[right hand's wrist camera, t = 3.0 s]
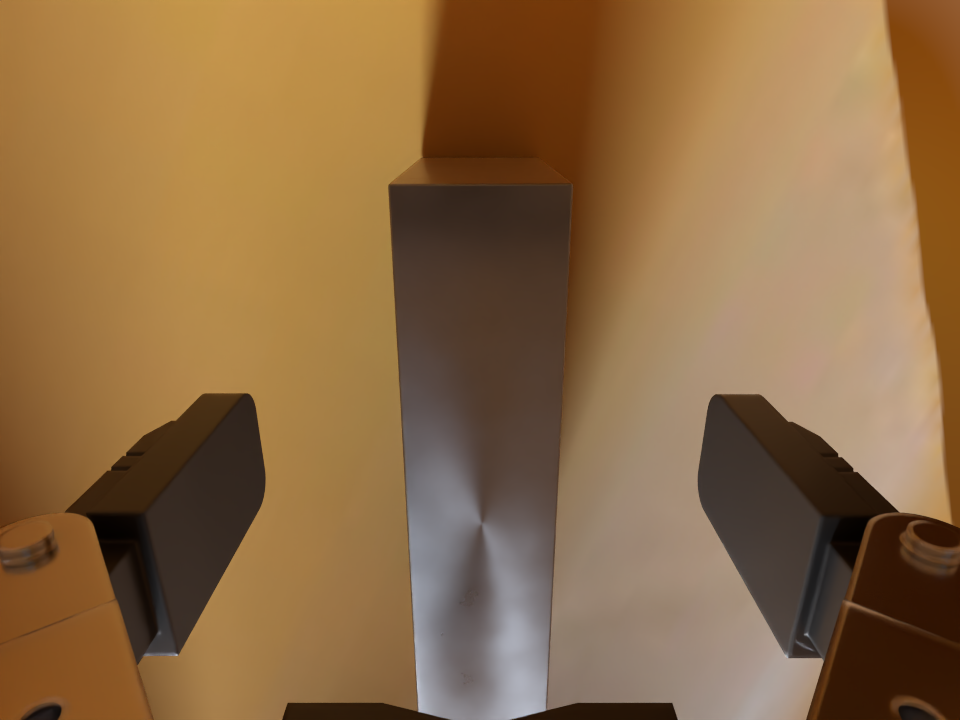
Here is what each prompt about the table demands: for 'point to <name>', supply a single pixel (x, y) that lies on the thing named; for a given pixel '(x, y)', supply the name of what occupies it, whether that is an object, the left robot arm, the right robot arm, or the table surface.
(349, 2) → the table surface
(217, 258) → the table surface
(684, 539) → the table surface
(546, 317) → the box
